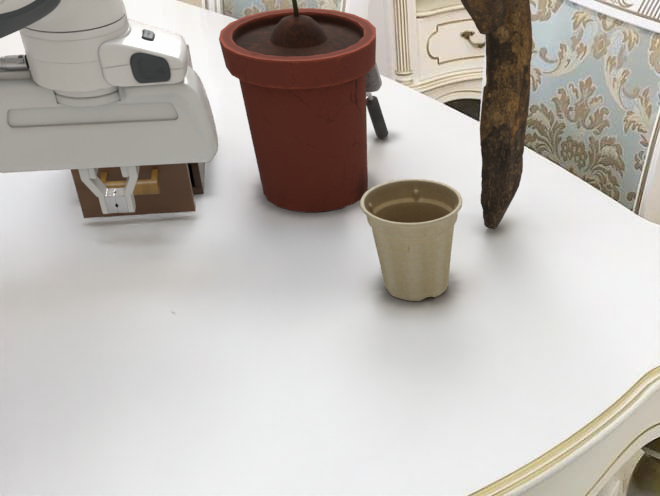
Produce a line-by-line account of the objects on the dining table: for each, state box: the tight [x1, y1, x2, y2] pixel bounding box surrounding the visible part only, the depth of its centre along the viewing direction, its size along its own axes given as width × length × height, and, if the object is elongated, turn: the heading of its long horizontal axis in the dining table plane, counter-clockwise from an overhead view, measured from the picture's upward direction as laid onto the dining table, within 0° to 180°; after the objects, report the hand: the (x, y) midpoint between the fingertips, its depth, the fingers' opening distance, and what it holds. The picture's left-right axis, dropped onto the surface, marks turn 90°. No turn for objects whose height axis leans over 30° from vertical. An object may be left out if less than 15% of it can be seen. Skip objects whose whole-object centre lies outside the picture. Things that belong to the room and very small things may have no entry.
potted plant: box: [218, 0, 389, 213], centre depth 116 cm, size 18×22×25 cm
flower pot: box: [359, 178, 463, 302], centre depth 105 cm, size 9×9×9 cm
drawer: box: [70, 163, 197, 219], centre depth 116 cm, size 18×11×9 cm, turn 10°
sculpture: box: [460, 0, 533, 230], centre depth 106 cm, size 7×7×30 cm
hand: (119, 210), depth 104 cm, fingers closed
